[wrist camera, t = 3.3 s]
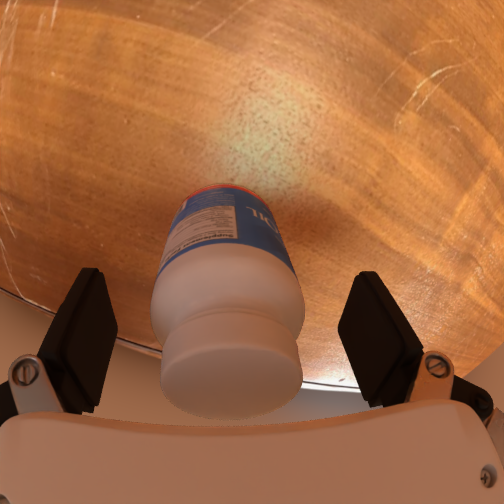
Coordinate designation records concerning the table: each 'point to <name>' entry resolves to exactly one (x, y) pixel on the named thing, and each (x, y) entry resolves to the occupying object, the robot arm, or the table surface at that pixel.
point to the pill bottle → (227, 308)
